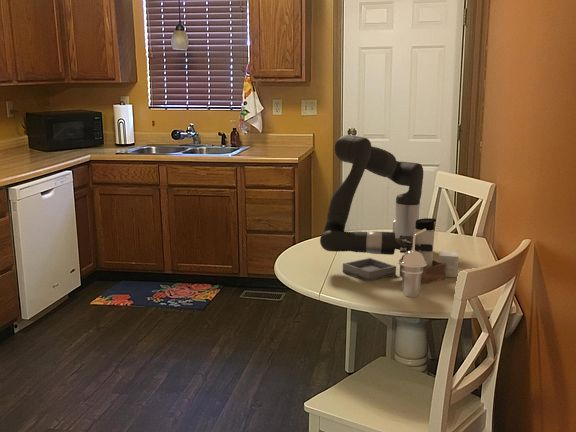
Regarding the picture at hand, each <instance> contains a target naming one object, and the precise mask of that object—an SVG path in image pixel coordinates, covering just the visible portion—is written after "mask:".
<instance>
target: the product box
mask: <svg viewBox="0 0 576 432" xmlns="http://www.w3.org/2000/svg"><path fill="white" fill-rule="evenodd" d="M438 255H439V256H438V262H442V263H445V264H446V275H445V278H446V277H447V278H458V269H459V268H458V267H459V254H458V252H456V251H443V250H440V251H439V253H438Z"/></svg>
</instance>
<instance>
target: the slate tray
mask: <svg viewBox="0 0 576 432" xmlns="http://www.w3.org/2000/svg"><path fill="white" fill-rule="evenodd" d="M342 273H345V274H347V275H350V276H353V277H356V278H358V279H360V280H364V281H367V282H371V281H375V280H381V279H384V278H390V277H391V276H396V273H397V266H396V265H393V264H391V263H386V262H385V261H381V260H379V259H375V258H372V257H367V258H363V259H358V260H353V261H348V262H343V263H342Z"/></svg>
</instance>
